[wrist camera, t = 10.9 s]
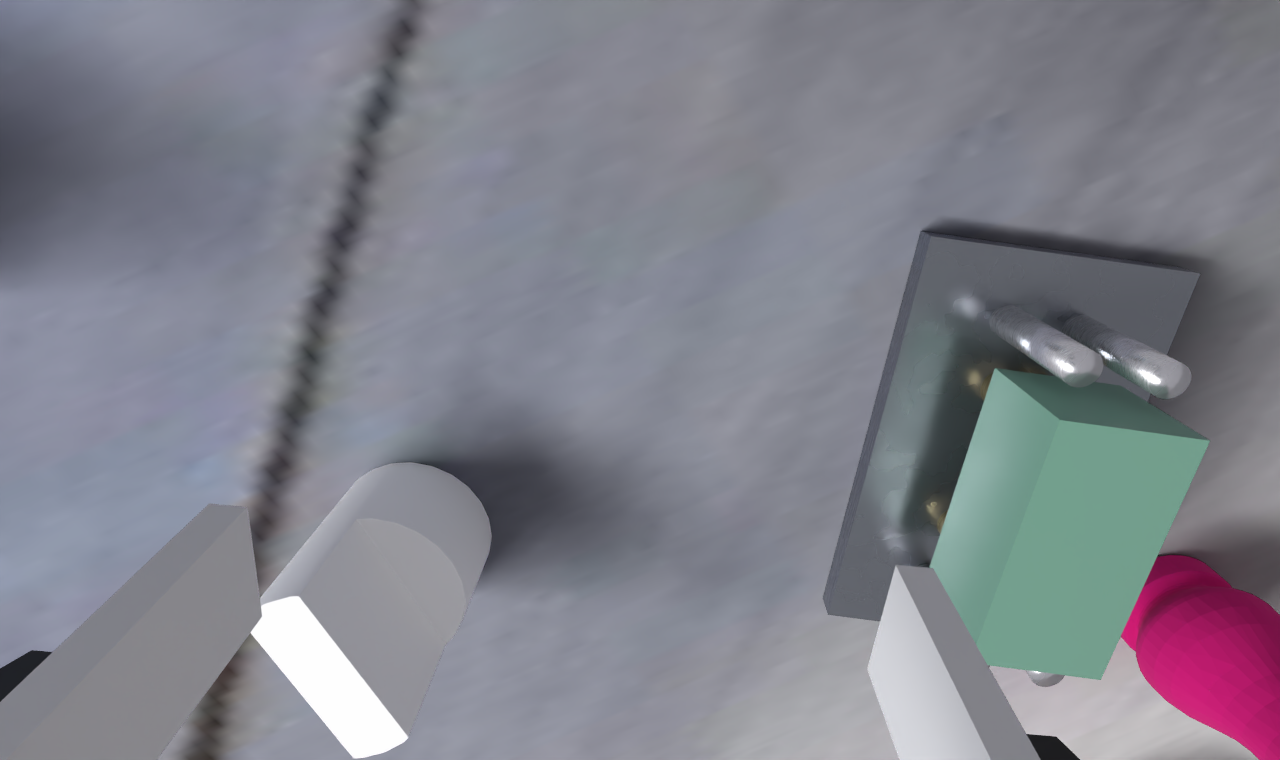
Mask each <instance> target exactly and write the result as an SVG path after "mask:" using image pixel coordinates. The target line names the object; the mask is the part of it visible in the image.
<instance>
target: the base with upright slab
mask: <svg viewBox="0 0 1280 760" xmlns="http://www.w3.org/2000/svg"><path fill="white" fill-rule="evenodd" d="M491 538H492V534H491V528H490V522H489V518H488V516H487V513H486V511H485V509H484V507H483V505H482V503H481V501H480V500H479V499H478V498H477V496H476V495H475V494H474V493H473V492H472V491H471V489H470V488H469V487H468V486H467V485H465V484H464V483H463V482H461V481H460V480H458V479H457V478H456V477H454V476H453V475H452V474H449V473H447V472H445V471H442V470H440V469H438V468H436V467H433V466H429V465H424V464H418V463H413V462H408V463H391V464H388V465H384V466H381V467H378V468H375V469H372V470H371V471H369V472H368V473H366V474H365V475H363V476H362V477H360V478H358V479H357V480H356V482H355V483H354V484H353V485H352V487H351V488H350V489H349V490H348V491H347V493H346V494H345V495H344V496H343V497H342V499H341V500H340V501H339V502H338V503H337V505H336V506H335V507H334V508H333V510H332V511H331V512H330V513H329V514H328V516H327V517H326V518H325V519H324V521H323V522H322V523H321V524H320V525H319V527H318V528H317V529H316V530H315V532H314V533H313V534H312V535H311V536H310V538H309V539H308V540H307V541H306V543H305V544H304V545H303V546H302V547H301V549H300V550H299V551H298V552H297V554H296V555H295V556H294V557H293V559H292V560H291V561H290V562H289V563H288V565H287V566H286V567H285V568H284V569H283V571H282V572H281V573H280V574H279V576H278V577H277V578H276V579H275V580H274V582H273V583H272V584H271V585H270V587H269V588H268V589H267V590H266V591H265V593H264V594H263V595H262V596H261V598H260V603H261V611H262V617H261V619H260V620H259V621H258V623H257V624H256V626H255V627H254V628H253V630H252V631H251V632H250V633H251V634H252V635H253V636H254V638H255V639H256V640H257V641H258V642H259V644H260V645H261V646H262V647H263V648H264V650H265V651H266V652H267V653H268V655H269V656H270V657H271V658H272V659H273V661H274V662H275V663H276V664H277V666H278V667H279V668H280V669H281V670H282V672H283V673H284V674H285V675H286V677H287V678H288V679H289V680H290V681H291V683H292V684H293V685H294V686H295V687H296V689H297V690H298V691H299V692H300V694H301V695H302V696H303V697H304V698H305V700H306V701H307V702H308V703H309V705H310V706H311V707H312V708H313V709H314V711H315V712H316V713H317V714H318V716H319V717H320V718H321V719H322V720H323V722H324V723H325V724H326V725H327V727H328V728H329V729H330V730H331V731H332V733H333V734H334V735H335V736H336V737H337V739H338V740H339V741H340V742H341V744H342V745H343V746H344V747H345V748H346V750H347V751H348V752H349V753H350V755H351V756H352V757H353V758H364V757H368V756H372V755H376V754H380V753H384V752H386V751H388V750H390V749H392V748H394V747H396V746H398V745H399V744H401V743H403V742H405V741H406V740H407V739H408V738H409V735H410V733H411V730H412V728H413V725H414V723H415V721H416V718H417V716H418V713H419V711H420V708H421V706H422V703H423V701H424V698H425V696H426V693H427V691H428V688H429V686H430V683H431V681H432V679H433V676H434V674H435V671H436V669H437V666H438V664H439V661H440V659H441V656H442V654H443V651H444V649H445V646H446V645H447V644H448V642H449V641H450V640H451V639H452V638H453V637H454V636H455V635H456V633H457V631H458V629H459V627H460V625H461V623H462V621H463V619H464V616H465V614H466V611H467V609H468V606H469V603H470V601H471V598H472V596H473V593H474V591H475V588H476V586H477V583H478V580H479V578H480V575H481V573H482V570H483V568H484V565H485V563H486V560H487V557H488V555H489V552H490V545H491Z"/></svg>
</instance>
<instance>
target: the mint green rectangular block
mask: <svg viewBox="0 0 1280 760" xmlns="http://www.w3.org/2000/svg"><path fill="white" fill-rule="evenodd" d="M1209 442H1210V440H1208V439H1207V438H1205V437H1203V436H1202V435H1200V434H1198V433H1197V432H1195V431H1194V430H1192V429H1190V428H1189V427H1187V426H1185V425H1184V424H1182V423H1181V422H1179V421H1177V420H1176V419H1174V418H1172V417H1171V416H1169V415H1168V414H1166V413H1164V412H1163V411H1161V410H1160V409H1158V408H1156V407H1155V406H1153V405H1151V404H1150V403H1148V402H1147V401H1145V400H1143V399H1142V398H1140V397H1138V396H1137V395H1135V394H1134V393H1132V392H1130V391H1129V390H1127V389H1126V388H1124V387H1122V386H1120V385H1113V384H1106V383H1099V382H1093V383H1092V384H1090V385H1088V386H1085V387H1072V386H1070V385H1068V384H1067V383H1065V382H1064V381H1062V380H1061V379H1060V378H1058V377H1056V376H1049V375H1042V374H1034V373H1027V372H1020V371H1013V370H1006V369H999V368H995V369H994V372H993V375H992V378H991V381H990V384H989V388H988V391H987V394H986V397H985V400H984V403H983V406H982V409H981V412H980V415H979V418H978V421H977V424H976V427H975V430H974V433H973V436H972V439H971V442H970V445H969V448H968V451H967V454H966V457H965V460H964V464H963V467H962V470H961V473H960V476H959V479H958V482H957V485H956V488H955V491H954V494H953V497H952V500H951V503H950V506H949V509H948V512H947V515H946V518H945V521H944V524H943V527H942V530H941V533H940V536H939V540H938V543H937V546H936V549H935V552H934V555H933V558H932V561H931V564H930V567H929V568H933V569H934V571H935V573H936V574H937V576H938V578H939V580H940V581H941V583H942V585H943V587H944V589H945V590H946V592H947V594H948V596H949V597H950V599H951V601H952V603H953V605H954V606H955V608H956V610H957V612H958V613H959V615H960V617H961V619H962V621H963V622H964V624H965V626H966V628H967V629H968V631H969V633H970V635H971V637H972V638H973V640H974V642H975V644H976V645H977V647H978V649H979V651H980V653H981V654H982V656H983V658H984V660H985V662H986V663H987V665H991V666H999V667H1006V668H1014V669H1022V670H1029V671H1037V672H1044V673H1052V674H1060V675H1067V676H1075V677H1082V678H1090V679H1097V680H1101V678H1102V676H1103V674H1104V671H1105V669H1106V667H1107V665H1108V663H1109V660H1110V658H1111V656H1112V654H1113V652H1114V650H1115V647H1116V645H1117V643H1118V641H1119V639H1120V636H1121V634H1122V632H1123V630H1124V628H1125V626H1126V623H1127V621H1128V619H1129V617H1130V615H1131V612H1132V610H1133V608H1134V606H1135V604H1136V602H1137V599H1138V597H1139V595H1140V593H1141V591H1142V588H1143V586H1144V584H1145V582H1146V580H1147V578H1148V575H1149V573H1150V571H1151V569H1152V567H1153V565H1154V562H1155V560H1156V558H1157V556H1158V554H1159V551H1160V549H1161V547H1162V545H1163V543H1164V541H1165V538H1166V536H1167V534H1168V532H1169V530H1170V527H1171V525H1172V523H1173V521H1174V519H1175V517H1176V514H1177V512H1178V510H1179V508H1180V506H1181V503H1182V501H1183V499H1184V497H1185V495H1186V493H1187V490H1188V488H1189V486H1190V484H1191V482H1192V479H1193V477H1194V475H1195V473H1196V471H1197V469H1198V466H1199V464H1200V462H1201V460H1202V458H1203V455H1204V453H1205V451H1206V449H1207V447H1208V445H1209Z"/></svg>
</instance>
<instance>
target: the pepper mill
mask: <svg viewBox="0 0 1280 760" xmlns="http://www.w3.org/2000/svg"><path fill="white" fill-rule="evenodd" d="M1121 637H1122V638H1123V639H1124V641H1125V642H1126V643H1127V644H1128V645H1129V646H1130V647H1131V648H1132V649H1133V650H1134V651H1135V652H1136V657H1137V661H1138V664H1139V668H1140V671H1141V672H1142V674H1143V676H1144V677H1145V679H1146V680H1147V681H1148V683H1149V684H1150V685H1151V686H1152V687H1153V688H1154V689H1155V690H1156V691H1157V692H1158V693H1159V694H1160V695H1161V696H1162V697H1163V698H1164V699H1165V700H1166V701H1167V702H1169V703H1170V704H1172V705H1173V706H1174V707H1176V708H1177V709H1179V710H1180V711H1182V712H1183V713H1185V714H1186V715H1188V716H1189V717H1191V718H1193V719H1195V720H1197V721H1199V722H1201V723H1203V724H1205V725H1207V726H1209V727H1211V728H1213V729H1215V730H1217V731H1219V732H1222V733H1223V734H1225V735H1227V736H1229V737H1231V738H1233V739H1235V740H1236V741H1238V742H1239V743H1241V744H1242V745H1243V746H1245V747H1246V748H1247V749H1248V750H1250V751H1251V752H1252V753H1253V754H1254V755H1255V756H1256V757H1257V758H1258V759H1259V760H1280V615H1279V614H1278V613H1277V612H1276V611H1275V610H1274V609H1273V608H1272V607H1271V606H1270V605H1269V604H1268V603H1266V602H1265V601H1263V600H1262V599H1260V598H1258V597H1256V596H1254V595H1253V594H1250V593H1247V592H1244V591H1241V590H1237V589H1234V588H1232V587H1231V586H1230V584H1229V583H1228V582H1227V581H1225V580H1224V579H1223V578H1222V577H1221V576H1220V575H1218V574H1217V573H1216V572H1215V571H1214V570H1212V569H1211V568H1210V567H1209V566H1208V565H1206V564H1205V563H1203V562H1202V561H1200V560H1198V559H1195V558H1192V557H1188V556H1181V555H1167V556H1160V557H1157V558H1156V560H1155V562H1154V565H1153V567H1152V569H1151V571H1150V573H1149V575H1148V578H1147V580H1146V582H1145V584H1144V586H1143V588H1142V591H1141V593H1140V595H1139V597H1138V599H1137V602H1136V604H1135V606H1134V608H1133V610H1132V612H1131V615H1130V617H1129V619H1128V621H1127V623H1126V626H1125V628H1124V630H1123V632H1122V634H1121Z"/></svg>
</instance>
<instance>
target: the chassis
mask: <svg viewBox="0 0 1280 760" xmlns="http://www.w3.org/2000/svg"><path fill="white" fill-rule="evenodd" d="M1199 276H1200V273H1197V272H1194V271H1191V270H1187V269H1184V268H1181V267H1176V266H1168V265H1161V264H1154V263H1147V262H1140V261H1132V260H1125V259H1118V258H1111V257H1103V256H1096V255H1089V254H1082V253H1075V252H1067V251H1060V250H1053V249H1046V248H1038V247H1031V246H1024V245H1017V244H1009V243H1002V242H995V241H988V240H981V239H973V238H966V237H959V236H952V235H944V234H937V233H930V232H923V231H921V232H920V236H919V240H918V244H917V247H916V251H915V255H914V259H913V262H912V266H911V270H910V274H909V277H908V281H907V285H906V289H905V292H904V296H903V300H902V304H901V307H900V311H899V315H898V319H897V322H896V326H895V330H894V334H893V337H892V341H891V345H890V349H889V352H888V356H887V360H886V364H885V367H884V371H883V375H882V379H881V382H880V386H879V390H878V394H877V397H876V401H875V405H874V409H873V412H872V416H871V420H870V424H869V427H868V431H867V435H866V439H865V442H864V446H863V450H862V453H861V457H860V461H859V465H858V468H857V472H856V476H855V480H854V483H853V487H852V491H851V495H850V498H849V502H848V506H847V510H846V513H845V517H844V521H843V525H842V528H841V532H840V536H839V540H838V543H837V547H836V551H835V555H834V558H833V562H832V566H831V570H830V573H829V577H828V581H827V585H826V588H825V592H824V596H823V600H824V603H825V606H826V610H827V613H828V615H835V616H843V617H850V618H858V619H866V620H874V621H881V617H882V613H883V610H884V606H885V602H886V599H887V595H888V591H889V588H890V584H891V580H892V577H893V573H894V569H895V566H896V565H903V566H914V567H925V568H929V567H930V564H931V561H932V558H933V555H934V552H935V549H936V546H937V543H938V540H939V536H940V533H941V530H942V527H943V524H944V521H945V518H946V515H947V512H948V509H949V506H950V503H951V500H952V497H953V494H954V491H955V488H956V485H957V482H958V479H959V476H960V473H961V470H962V467H963V464H964V460H965V457H966V454H967V451H968V448H969V445H970V442H971V439H972V436H973V433H974V430H975V427H976V424H977V421H978V418H979V415H980V412H981V409H982V406H983V403H984V400H985V397H986V394H987V391H988V388H989V384H990V381H991V378H992V375H993V372H994V369H995V368H999V369H1006V370H1013V371H1020V372H1027V373H1034V374H1042V375H1049V376H1056V377H1058V378H1060V379H1061V380H1062V381H1064V382H1065V383H1067V384H1068V385H1070V386H1072V387H1085V386H1088V385H1090V384H1092V383H1093V382H1099V383H1106V384H1113V385H1120V386H1122V387H1124V388H1126V389H1127V390H1129V391H1130V392H1132V393H1134V394H1135V395H1137V396H1138V397H1140V398H1142V399H1143V400H1145V401H1147V402H1148V400H1149V397H1150V395H1151V394H1152V395H1154V396H1156V397H1158V398H1160V399H1171V398H1175V397H1177V396H1179V395H1180V394H1182V393H1183V392H1184V391H1185V390H1186V389H1187V388H1188V386H1189V384H1190V382H1191V371H1190V369H1189V368H1188V367H1187V366H1186V365H1185V364H1183V363H1181V362H1179V361H1177V360H1175V359H1173V358H1171V357H1169V356H1167V354H1168V351H1169V349H1170V346H1171V344H1172V341H1173V339H1174V337H1175V334H1176V332H1177V329H1178V327H1179V324H1180V322H1181V320H1182V317H1183V315H1184V312H1185V310H1186V307H1187V305H1188V302H1189V300H1190V298H1191V295H1192V293H1193V290H1194V288H1195V285H1196V283H1197V281H1198V278H1199ZM988 667H990V665H988ZM1026 672H1027V674H1028V675H1029V677H1030V678H1031V680H1032V681H1033V682H1034V683H1035V684H1036V685H1038V686H1042V687H1048V686H1053V685H1055V684H1057V683H1059V682H1060V681H1061V680H1062V679H1063V677H1064V676H1065V675H1060V674H1052V673H1044V672H1037V671H1029V670H1026Z"/></svg>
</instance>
